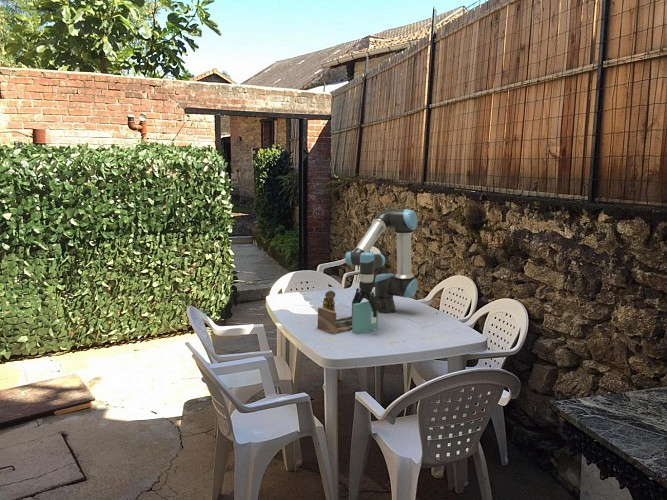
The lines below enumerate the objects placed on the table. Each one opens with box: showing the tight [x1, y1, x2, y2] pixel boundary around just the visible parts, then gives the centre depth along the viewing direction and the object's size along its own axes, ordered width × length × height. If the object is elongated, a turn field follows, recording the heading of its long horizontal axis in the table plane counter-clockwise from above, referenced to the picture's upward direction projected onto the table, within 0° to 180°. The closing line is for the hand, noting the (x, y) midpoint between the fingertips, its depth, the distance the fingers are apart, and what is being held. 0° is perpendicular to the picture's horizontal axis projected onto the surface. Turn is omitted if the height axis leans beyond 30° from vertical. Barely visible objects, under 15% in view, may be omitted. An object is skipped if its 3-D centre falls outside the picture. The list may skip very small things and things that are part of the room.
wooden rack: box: [317, 303, 353, 335], centre depth 296 cm, size 26×14×12 cm, turn 127°
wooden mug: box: [322, 290, 336, 312], centre depth 315 cm, size 9×14×18 cm, turn 7°
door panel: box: [351, 300, 379, 335], centre depth 289 cm, size 16×2×16 cm, turn 127°
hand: (365, 320), depth 290 cm, fingers open, 13 cm apart
